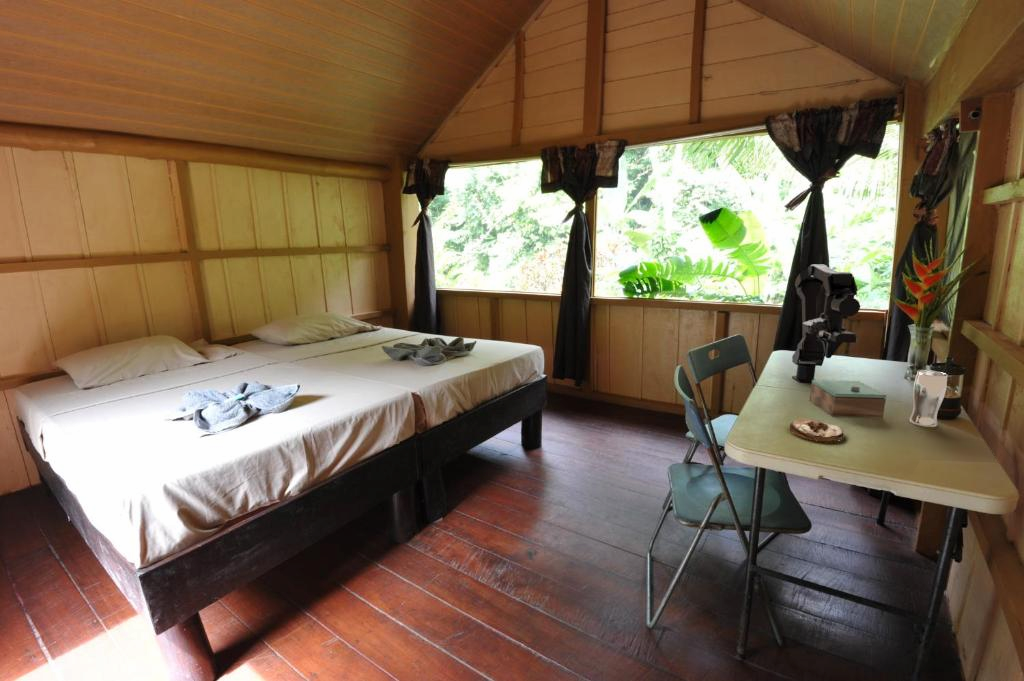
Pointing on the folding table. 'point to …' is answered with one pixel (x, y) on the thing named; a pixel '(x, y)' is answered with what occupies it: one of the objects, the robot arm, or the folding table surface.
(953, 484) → the folding table surface
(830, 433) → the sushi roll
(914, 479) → the folding table surface
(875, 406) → the walnut box
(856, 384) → the lid
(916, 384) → the beer glass
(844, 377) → the folding table surface
